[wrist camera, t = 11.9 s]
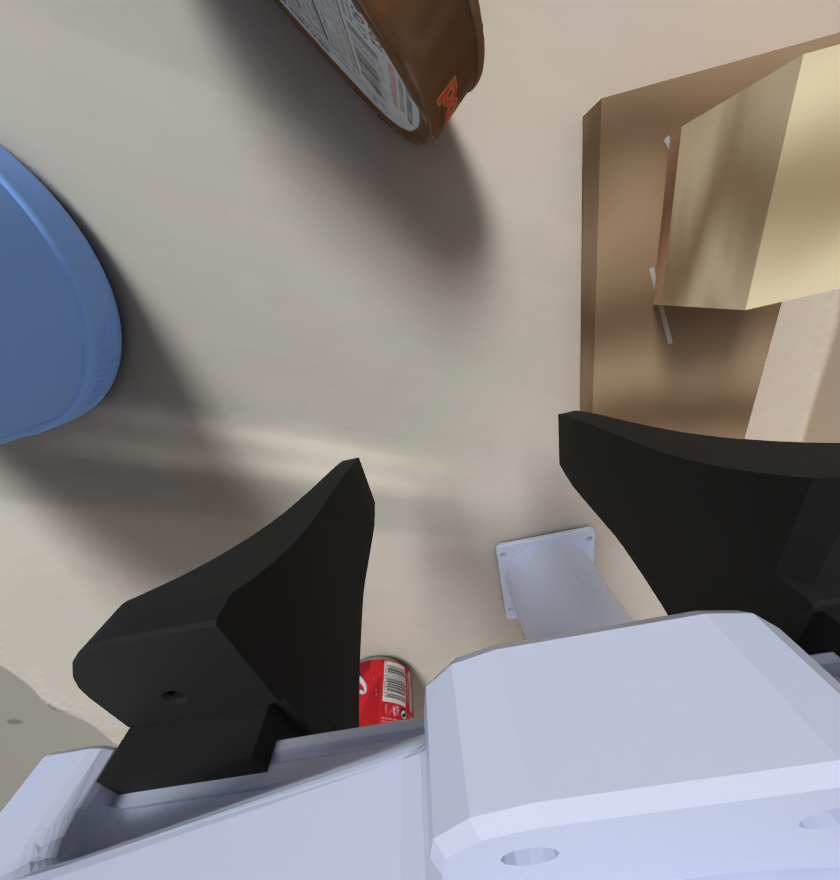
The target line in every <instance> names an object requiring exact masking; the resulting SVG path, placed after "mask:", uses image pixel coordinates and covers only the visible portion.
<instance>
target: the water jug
mask: <svg viewBox="0 0 840 880" xmlns="http://www.w3.org/2000/svg"><path fill="white" fill-rule="evenodd" d="M121 353H122V331H121V323H120V317H119V313H118V308H117V305H116V301H115V298H114V295H113V292H112V289H111V287H110V284H109V282H108V279H107V277H106V275H105V272H104V270H103V268H102V266H101V264H100V262H99V260H98V259H97V257H96V255H95V253H94V251H93V250H92V248H91V246H90V245H89V243H88V241H87V240H86V238H85V237H84V235H83V234H82V232H81V231H80V229H79V228H78V226H77V225H76V224H75V222H74V221H73V220H72V218H71V217H70V216H69V214H68V213H67V212H66V211H65V209H64V208H63V207H62V206H61V204H60V203H59V202H58V201H57V200H56V198H55V197H54V196H53V195H52V194H51V193H50V192H49V191H48V190H47V188H46V187H45V186H44V185H43V184H42V183H41V182H40V181H39V180H38V179H37V178H36V177H35V176H34V175H33V174H32V173H31V172H30V171H29V170H28V169H27V168H26V167H25V166H24V165H23V164H22V163H20V162H19V161H18V160H17V159H16V158H15V157H14V156H13V155H11V154H10V153H9V152H8V151H7V150H6V149H4V148H3V147H2V146H1V145H0V445H3V444H5V443H8V442H10V441H13V440H16V439H18V438H22V437H28V436H32V435H36V434H39V433H42V432H45V431H47V430H50V429H53V428H55V427H58V426H60V425H63V424H65V423H68V422H70V421H73V420H75V419H77V418H79V417H81V416H82V415H84V414H86V413H87V412H88V411H90V410H91V409H92V408H94V407H95V406H96V405H97V404H98V403H99V402H100V401H101V400H102V399H103V398H104V397H105V395H106V394H107V393H108V391H109V389H110V388H111V386H112V384H113V382H114V380H115V378H116V375H117V372H118V369H119V365H120V360H121Z"/></svg>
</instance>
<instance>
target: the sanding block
mask: <svg viewBox="0 0 840 880" xmlns="http://www.w3.org/2000/svg"><path fill="white" fill-rule="evenodd" d="M835 289H840V44H839V45H835V46H831V47H828V48H824V49H820V50H817V51H813V52H810V53H806V54H803V55H801V56H800V57H798V58H796V59H795V60H793V61H791V62H790V63H788V64H786V65H784V66H783V67H781V68H779V69H778V70H776V71H774V72H773V73H771V74H769V75H768V76H766V77H764V78H763V79H761V80H759V81H758V82H756V83H754V84H752V85H751V86H749V87H747V88H746V89H744V90H742V91H741V92H739V93H737V94H736V95H734V96H732V97H731V98H729V99H727V100H726V101H724V102H722V103H721V104H719V105H717V106H715V107H714V108H712V109H710V110H709V111H707V112H705V113H704V114H702V115H700V116H699V117H697V118H695V119H694V120H692V121H690V122H689V123H687V124H685V125H683V126H682V127H680V128H678V129H677V130H675V131H673V132H672V133H671V134H670V144H669V154H668V163H667V173H666V183H665V193H664V202H663V212H662V222H661V231H660V241H659V251H658V261H657V270H656V280H655V290H654V299H653V305H667V306H684V307H701V308H717V309H734V310H748V309H753V308H757V307H761V306H766V305H770V304H775V303H779V302H783V301H788V300H792V299H796V298H801V297H805V296H809V295H814V294H818V293H822V292H827V291H831V290H835Z"/></svg>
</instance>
